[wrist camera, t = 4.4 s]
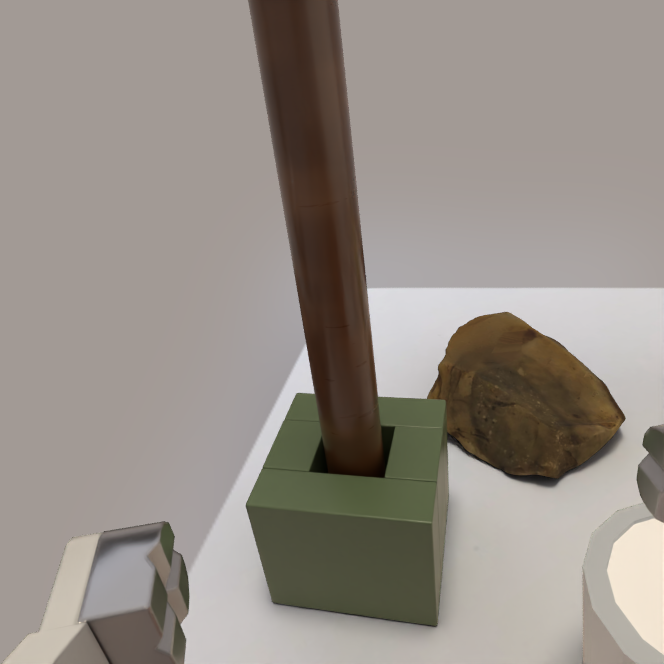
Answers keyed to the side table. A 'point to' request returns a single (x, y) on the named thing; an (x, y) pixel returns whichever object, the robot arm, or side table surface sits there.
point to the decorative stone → (522, 398)
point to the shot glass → (624, 590)
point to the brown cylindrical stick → (322, 220)
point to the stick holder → (356, 516)
